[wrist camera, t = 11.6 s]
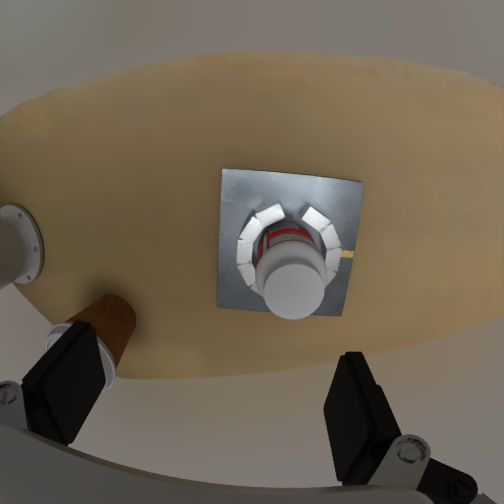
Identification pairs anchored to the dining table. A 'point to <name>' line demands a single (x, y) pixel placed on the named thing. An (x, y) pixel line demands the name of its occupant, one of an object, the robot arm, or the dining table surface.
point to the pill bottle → (290, 271)
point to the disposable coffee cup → (103, 331)
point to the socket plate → (281, 211)
